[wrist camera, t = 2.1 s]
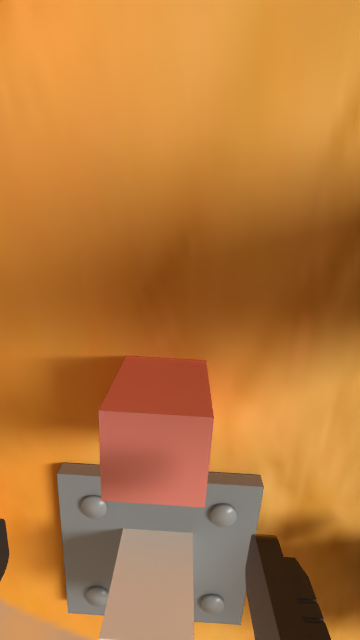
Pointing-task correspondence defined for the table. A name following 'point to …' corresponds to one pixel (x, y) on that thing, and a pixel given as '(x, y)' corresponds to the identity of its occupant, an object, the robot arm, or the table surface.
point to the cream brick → (151, 588)
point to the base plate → (205, 523)
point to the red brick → (156, 433)
